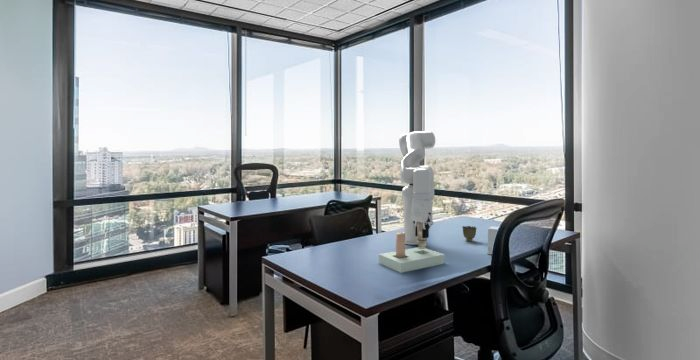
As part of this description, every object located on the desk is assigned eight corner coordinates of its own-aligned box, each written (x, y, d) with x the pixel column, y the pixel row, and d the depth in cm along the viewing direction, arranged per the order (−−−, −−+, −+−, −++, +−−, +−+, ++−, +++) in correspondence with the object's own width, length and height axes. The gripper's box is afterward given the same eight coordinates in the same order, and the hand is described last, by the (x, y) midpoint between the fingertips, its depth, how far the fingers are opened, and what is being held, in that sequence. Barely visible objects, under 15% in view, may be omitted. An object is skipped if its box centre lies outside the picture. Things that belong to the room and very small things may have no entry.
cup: (477, 242, 205) (477, 228, 204) (463, 242, 206) (463, 228, 205) (475, 239, 212) (475, 225, 211) (461, 239, 213) (461, 225, 213)
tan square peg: (394, 264, 164) (393, 233, 163) (401, 263, 166) (401, 232, 165) (399, 267, 161) (399, 235, 160) (407, 265, 163) (406, 233, 162)
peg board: (378, 265, 168) (378, 254, 167) (420, 257, 179) (420, 246, 179) (400, 275, 154) (400, 263, 153) (444, 265, 165) (444, 254, 165)
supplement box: (503, 256, 178) (503, 230, 177) (487, 254, 182) (487, 228, 181) (506, 252, 185) (506, 227, 184) (490, 250, 188) (490, 225, 187)
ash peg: (415, 247, 170) (415, 217, 169) (422, 246, 172) (422, 216, 171) (421, 249, 166) (421, 218, 165) (428, 248, 168) (428, 217, 167)
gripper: (403, 195, 173) (403, 234, 174) (428, 198, 158) (428, 241, 160) (416, 194, 176) (416, 232, 178) (441, 197, 162) (441, 239, 163)
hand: (422, 236), depth 169 cm, fingers closed on ash peg, 4 cm apart
